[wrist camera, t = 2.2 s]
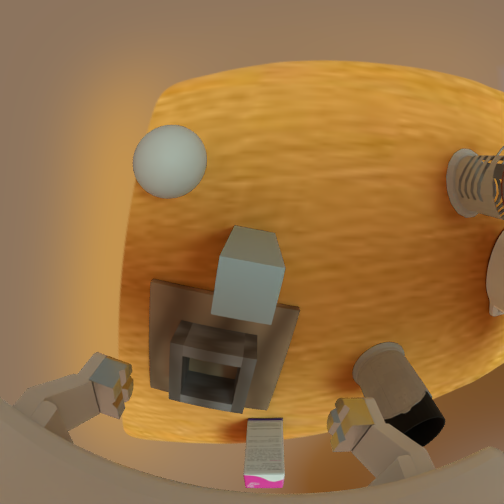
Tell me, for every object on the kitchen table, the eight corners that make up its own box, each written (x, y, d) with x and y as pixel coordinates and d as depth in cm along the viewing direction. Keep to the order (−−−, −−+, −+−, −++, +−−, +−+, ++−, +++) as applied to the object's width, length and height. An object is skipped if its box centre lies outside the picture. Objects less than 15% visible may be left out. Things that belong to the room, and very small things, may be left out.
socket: (298, 306, 32) (306, 333, 26) (266, 405, 37) (267, 434, 31) (153, 278, 32) (134, 299, 26) (152, 383, 36) (140, 409, 31)
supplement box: (246, 417, 38) (243, 474, 27) (283, 417, 38) (287, 473, 27) (247, 436, 39) (245, 489, 28) (281, 435, 39) (284, 488, 28)
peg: (275, 233, 30) (285, 268, 18) (266, 271, 31) (271, 325, 20) (234, 225, 30) (219, 256, 18) (227, 263, 31) (210, 314, 19)
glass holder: (397, 331, 33) (448, 400, 19) (413, 385, 36) (449, 445, 22) (344, 362, 35) (376, 443, 20) (370, 410, 38) (396, 476, 23)
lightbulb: (214, 197, 29) (189, 208, 18) (162, 188, 29) (114, 195, 18) (225, 142, 27) (206, 122, 17) (172, 135, 27) (128, 116, 17)
